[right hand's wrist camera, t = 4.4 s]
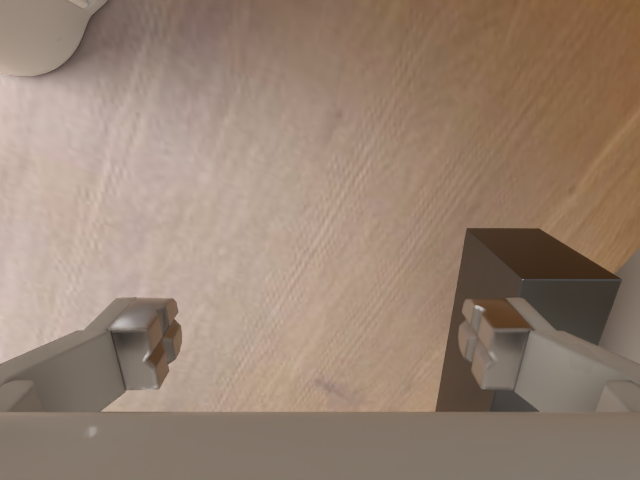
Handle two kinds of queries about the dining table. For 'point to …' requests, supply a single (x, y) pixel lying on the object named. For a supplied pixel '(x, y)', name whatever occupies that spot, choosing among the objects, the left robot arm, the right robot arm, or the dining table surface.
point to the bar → (530, 284)
